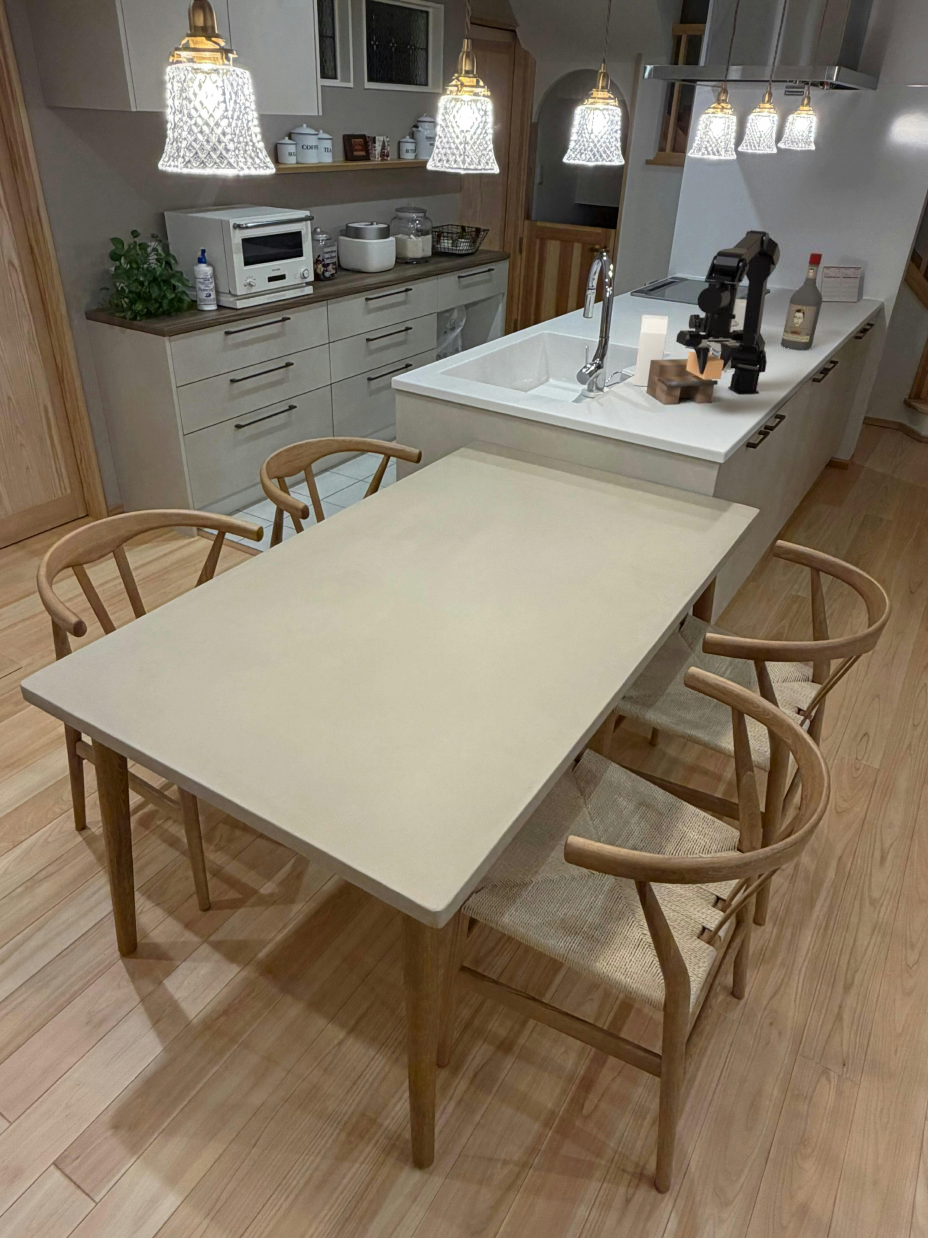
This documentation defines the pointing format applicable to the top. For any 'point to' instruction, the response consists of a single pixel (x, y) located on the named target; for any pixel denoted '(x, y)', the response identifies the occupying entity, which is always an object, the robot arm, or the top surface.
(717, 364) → the orange rectangular block
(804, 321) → the liquor
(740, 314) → the supplement box
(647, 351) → the milk carton
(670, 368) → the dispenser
